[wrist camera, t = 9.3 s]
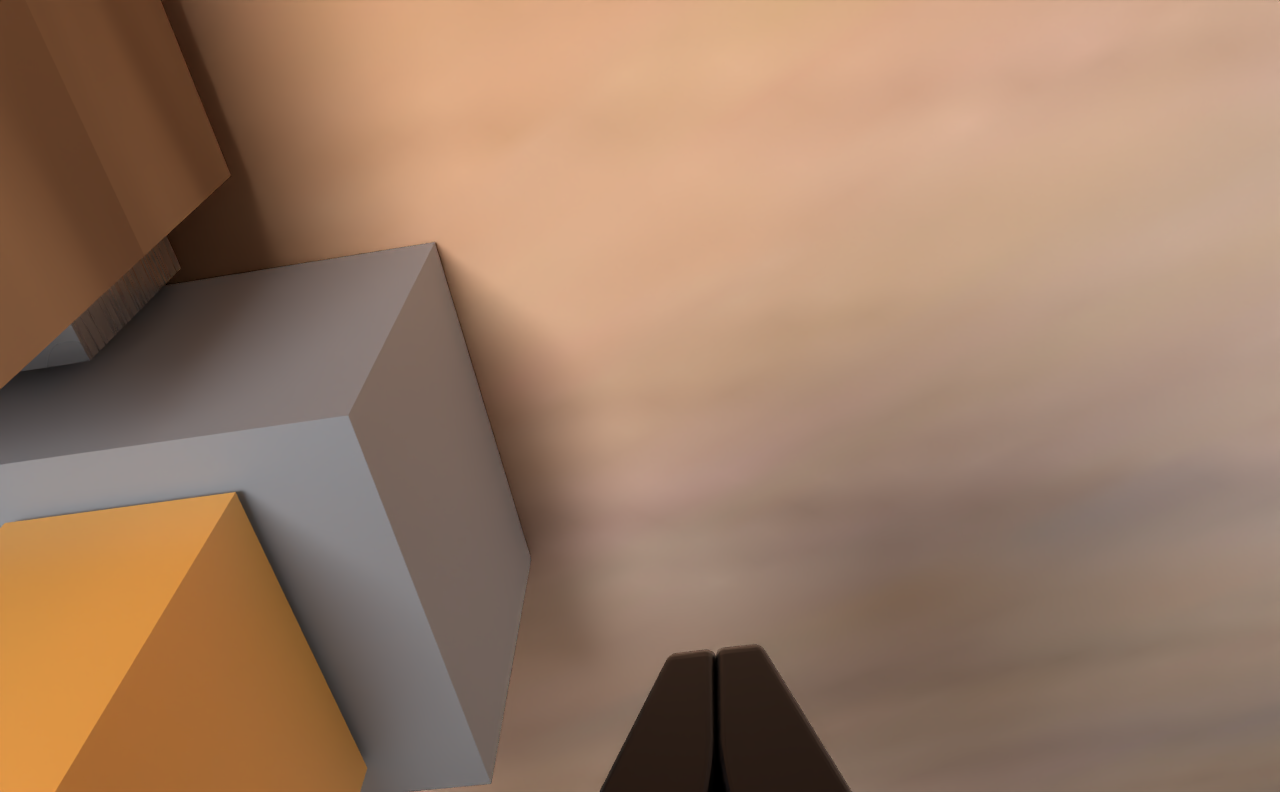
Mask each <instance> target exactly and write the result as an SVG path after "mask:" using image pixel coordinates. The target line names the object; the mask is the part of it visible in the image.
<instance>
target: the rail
mask: <svg viewBox="0 0 1280 792" xmlns="http://www.w3.org/2000/svg"><path fill="white" fill-rule="evenodd" d="M180 269H181V266H180V264H179V261H178V259H177V257H176V255H175V253H174V250H173V248H172V246H171V244H170V241H169V239H168V237H167V236H165V237H164V238H163V239H162V240H161V241H160V242H159V243H158V244H157V245H156V246H155V247H154V248H153V249H151V250H150V251H149V252H148V253H147V254H146V255H145V256H144V257H143V258H142V259H141V260H140V261H138V262H137V263H136V264H135V265H134V266H133V267H132V268H131V269H130V270H129V271H128V272H127V273H126V274H124V275H123V276H122V277H121V278H120V279H119V280H118V281H117V282H116V283H115V284H114V285H113V286H111V287H110V288H109V289H108V290H107V291H106V292H105V293H104V294H103V295H102V296H101V297H100V298H99V299H97V300H96V301H95V302H94V303H93V304H92V305H91V306H90V307H89V308H88V309H87V310H86V311H85V312H83V313H82V314H81V315H80V316H79V317H78V318H77V319H76V320H75V321H74V322H73V323H72V324H70V325H69V326H68V327H67V328H66V329H65V330H64V331H63V332H62V333H61V334H60V335H59V336H58V337H56V338H55V339H54V340H53V341H52V342H51V343H50V344H49V345H48V346H47V347H46V348H45V349H43V350H42V351H41V352H40V353H39V354H38V355H37V356H36V357H35V358H34V359H33V360H32V361H31V362H29V363H28V364H27V365H26V366H25V367H24V368H23V369H22V370H21V371H27V370H33V369H40V368H46V367H53V366H60V365H66V364H73V363H79V362H86V361H90V360H91V359H92V358H93V357H94V356H95V355H96V354H97V353H98V352H99V351H100V350H101V349H102V348H103V347H104V346H105V345H106V344H107V343H108V342H109V341H110V340H111V339H112V338H113V337H114V336H115V335H116V334H117V333H118V332H119V331H120V330H121V329H122V328H123V327H124V326H125V325H126V324H127V323H128V322H129V321H130V320H131V319H132V317H133V316H134V315H135V314H136V313H137V312H138V311H139V310H140V309H141V308H142V307H143V306H144V305H145V304H146V303H147V302H148V301H149V300H150V299H151V298H152V297H153V296H154V295H155V294H156V293H157V292H158V291H159V290H160V289H161V288H162V287H163V286H164V285H165V284H166V283H167V282H168V281H169V280H170V279H171V278H172V277H173V276H174V275H175V274H176V273H177V272H178V271H179V270H180Z"/></svg>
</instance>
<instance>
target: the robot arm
mask: <svg viewBox="0 0 1280 792" xmlns="http://www.w3.org/2000/svg"><path fill="white" fill-rule="evenodd" d="M600 792H852V791H851V789H850V788H849V786H848V785H847V783H846V781H845V780H844V778H843V776H842V775H841V773H840V772H839V770H838V768H837V767H836V765H835V763H834V762H833V760H832V759H831V757H830V755H829V754H828V752H827V750H826V749H825V747H824V746H823V744H822V742H821V741H820V739H819V737H818V736H817V734H816V733H815V731H814V729H813V728H812V726H811V724H810V723H809V721H808V720H807V718H806V716H805V715H804V713H803V711H802V710H801V708H800V707H799V705H798V703H797V702H796V700H795V698H794V697H793V695H792V694H791V692H790V690H789V689H788V687H787V685H786V684H785V682H784V681H783V679H782V677H781V676H780V674H779V672H778V671H777V669H776V668H775V666H774V664H773V663H772V661H771V659H770V658H769V656H768V655H767V653H766V651H765V650H764V649H763V648H762V647H761V646H759V645H757V644H753V645H744V646H735V647H725V648H721V649H720V650H719V651H718V652H717V654H716V655H715V654H714V653H713V652H712V651H710V650H698V651H690V652H681V653H674V654H672V655H671V656H669V657H668V659H667V660H666V662H665V664H664V666H663V668H662V670H661V672H660V674H659V676H658V678H657V679H656V681H655V683H654V685H653V687H652V689H651V691H650V693H649V695H648V697H647V699H646V701H645V703H644V705H643V707H642V709H641V711H640V713H639V715H638V717H637V719H636V721H635V723H634V725H633V727H632V729H631V731H630V733H629V735H628V736H627V738H626V740H625V742H624V744H623V746H622V748H621V750H620V752H619V754H618V756H617V758H616V760H615V762H614V764H613V766H612V768H611V770H610V772H609V774H608V776H607V778H606V780H605V782H604V784H603V786H602V788H601V790H600Z"/></svg>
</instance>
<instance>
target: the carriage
mask: <svg viewBox="0 0 1280 792" xmlns="http://www.w3.org/2000/svg"><path fill="white" fill-rule="evenodd" d="M230 176H231V175H230V172H229V170H228V167H227V165H226V162H225V160H224V157H223V155H222V152H221V150H220V147H219V145H218V142H217V140H216V137H215V135H214V132H213V130H212V127H211V125H210V122H209V120H208V117H207V115H206V112H205V110H204V107H203V105H202V102H201V100H200V97H199V95H198V92H197V90H196V87H195V85H194V82H193V80H192V77H191V75H190V72H189V70H188V67H187V65H186V62H185V60H184V57H183V55H182V52H181V50H180V47H179V45H178V42H177V40H176V37H175V35H174V32H173V30H172V27H171V25H170V22H169V20H168V17H167V15H166V12H165V10H164V7H163V5H162V2H161V0H0V389H1V388H2V387H4V386H5V385H6V384H7V383H8V382H9V381H10V380H11V379H12V378H13V377H14V376H15V375H17V374H18V373H19V372H20V371H21V370H22V369H23V368H24V367H25V366H26V365H27V364H28V363H29V362H31V361H32V360H33V359H34V358H35V357H36V356H37V355H38V354H39V353H40V352H41V351H42V350H43V349H45V348H46V347H47V346H48V345H49V344H50V343H51V342H52V341H53V340H54V339H55V338H56V337H58V336H59V335H60V334H61V333H62V332H63V331H64V330H65V329H66V328H67V327H68V326H69V325H70V324H72V323H73V322H74V321H75V320H76V319H77V318H78V317H79V316H80V315H81V314H82V313H83V312H85V311H86V310H87V309H88V308H89V307H90V306H91V305H92V304H93V303H94V302H95V301H96V300H97V299H99V298H100V297H101V296H102V295H103V294H104V293H105V292H106V291H107V290H108V289H109V288H110V287H111V286H113V285H114V284H115V283H116V282H117V281H118V280H119V279H120V278H121V277H122V276H123V275H124V274H126V273H127V272H128V271H129V270H130V269H131V268H132V267H133V266H134V265H135V264H136V263H137V262H138V261H140V260H141V259H142V258H143V257H144V256H145V255H146V254H147V253H148V252H149V251H150V250H151V249H153V248H154V247H155V246H156V245H157V244H158V243H159V242H160V241H161V240H162V239H163V238H164V237H165V236H167V235H168V234H169V233H170V232H171V231H172V230H173V229H174V228H175V227H176V226H177V225H178V224H179V223H181V222H182V221H183V220H184V219H185V218H186V217H187V216H188V215H189V214H190V213H191V212H192V211H194V210H195V209H196V208H197V207H198V206H199V205H200V204H201V203H202V202H203V201H204V200H205V199H206V198H208V197H209V196H210V195H211V194H212V193H213V192H214V191H215V190H216V189H217V188H218V187H219V186H221V185H222V184H223V183H224V182H225V181H226V180H227V179H228V178H229V177H230Z"/></svg>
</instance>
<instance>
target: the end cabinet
mask: <svg viewBox="0 0 1280 792" xmlns="http://www.w3.org/2000/svg"><path fill="white" fill-rule="evenodd" d="M232 492H236V494H237V496H238V498H239V500H240V502H241V505H242V507H243V509H244V511H245V513H246V515H247V517H248V519H249V521H250V523H251V525H252V528H253V530H254V532H255V534H256V536H257V538H258V540H259V542H260V544H261V546H262V548H263V551H264V553H265V555H266V557H267V559H268V561H269V563H270V565H271V567H272V569H273V571H274V574H275V576H276V578H277V580H278V582H279V584H280V586H281V588H282V590H283V592H284V594H285V597H286V599H287V601H288V603H289V605H290V607H291V609H292V611H293V613H294V615H295V617H296V620H297V622H298V624H299V626H300V628H301V630H302V632H303V634H304V636H305V638H306V641H307V643H308V645H309V647H310V649H311V651H312V653H313V655H314V657H315V659H316V661H317V664H318V666H319V668H320V670H321V672H322V674H323V676H324V678H325V680H326V682H327V684H328V687H329V689H330V691H331V693H332V695H333V697H334V699H335V701H336V703H337V705H338V707H339V710H340V712H341V714H342V716H343V718H344V720H345V722H346V724H347V726H348V728H349V730H350V733H351V735H352V737H353V739H354V741H355V743H356V745H357V747H358V749H359V751H360V753H361V756H362V758H363V760H364V762H365V764H366V766H367V771H366V774H365V777H364V781H363V784H362V787H361V791H360V792H411V791H421V790H432V789H442V788H453V787H463V786H473V785H484V784H491V782H492V776H493V771H494V765H495V760H496V754H497V748H498V743H499V737H500V731H501V726H502V720H503V715H504V709H505V703H506V698H507V692H508V686H509V681H510V675H511V670H512V664H513V658H514V653H515V647H516V641H517V636H518V630H519V625H520V619H521V613H522V608H523V602H524V596H525V591H526V585H527V580H528V574H529V568H530V563H531V557H530V554H529V550H528V547H527V544H526V540H525V537H524V534H523V531H522V527H521V524H520V521H519V517H518V514H517V511H516V508H515V504H514V501H513V498H512V494H511V491H510V488H509V485H508V481H507V478H506V475H505V471H504V468H503V465H502V462H501V458H500V455H499V452H498V448H497V445H496V442H495V439H494V435H493V432H492V429H491V425H490V422H489V419H488V416H487V412H486V409H485V406H484V402H483V399H482V396H481V393H480V389H479V386H478V383H477V379H476V376H475V373H474V370H473V366H472V363H471V360H470V356H469V353H468V350H467V347H466V343H465V340H464V337H463V333H462V330H461V327H460V324H459V320H458V317H457V314H456V310H455V307H454V304H453V301H452V297H451V294H450V291H449V287H448V284H447V281H446V278H445V274H444V271H443V268H442V264H441V261H440V258H439V255H438V251H437V248H436V245H435V242H433V243H426V244H420V245H414V246H408V247H401V248H395V249H389V250H383V251H376V252H370V253H364V254H358V255H352V256H345V257H339V258H333V259H327V260H320V261H314V262H308V263H302V264H295V265H289V266H283V267H277V268H271V269H264V270H258V271H252V272H246V273H239V274H233V275H227V276H221V277H214V278H208V279H202V280H196V281H190V282H183V283H177V284H171V285H165V286H163V287H162V288H161V289H160V290H159V291H158V292H157V293H156V294H155V295H154V296H153V297H152V298H151V299H150V300H149V301H148V302H147V303H146V304H145V305H144V306H143V307H142V308H141V309H140V310H139V311H138V312H137V313H136V314H135V315H134V316H133V317H132V319H131V320H130V321H129V322H128V323H127V324H126V325H125V326H124V327H123V328H122V329H121V330H120V331H119V332H118V333H117V334H116V335H115V336H114V337H113V338H112V339H111V340H110V341H109V342H108V343H107V344H106V345H105V346H104V347H103V348H102V349H101V350H100V351H99V352H98V353H97V354H96V355H95V356H94V357H93V358H92V359H91V360H90V361H86V362H79V363H73V364H66V365H60V366H53V367H46V368H40V369H33V370H27V371H20V372H19V373H18V374H17V375H15V376H14V377H13V378H12V379H11V380H10V381H9V382H8V383H7V384H6V385H5V386H4V387H2V388H1V389H0V528H1V527H2V526H3V525H4V523H9V522H16V521H23V520H31V519H38V518H46V517H53V516H61V515H68V514H76V513H83V512H90V511H98V510H105V509H113V508H120V507H128V506H135V505H143V504H150V503H157V502H165V501H172V500H180V499H187V498H195V497H202V496H209V495H217V494H224V493H232Z"/></svg>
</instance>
